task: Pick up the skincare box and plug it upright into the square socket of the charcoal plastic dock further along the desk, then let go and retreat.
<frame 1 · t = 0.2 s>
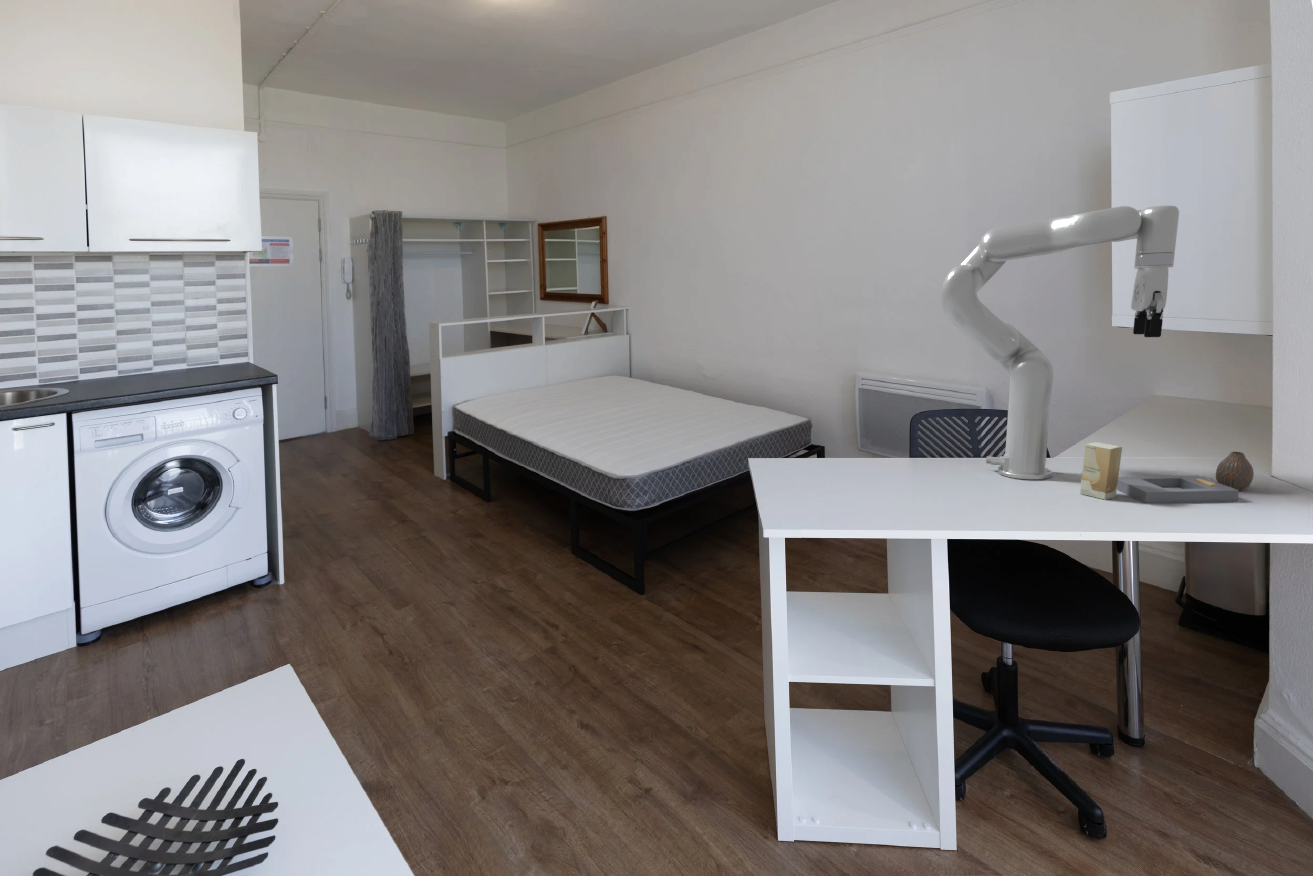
hand: (1146, 335, 169), 36 cm above the table, tool pointing down, fingers open, 9 cm apart
vase: (1232, 489, 168), on the table
skincare box: (1098, 496, 167), on the table
socket dock: (1172, 493, 166), on the table
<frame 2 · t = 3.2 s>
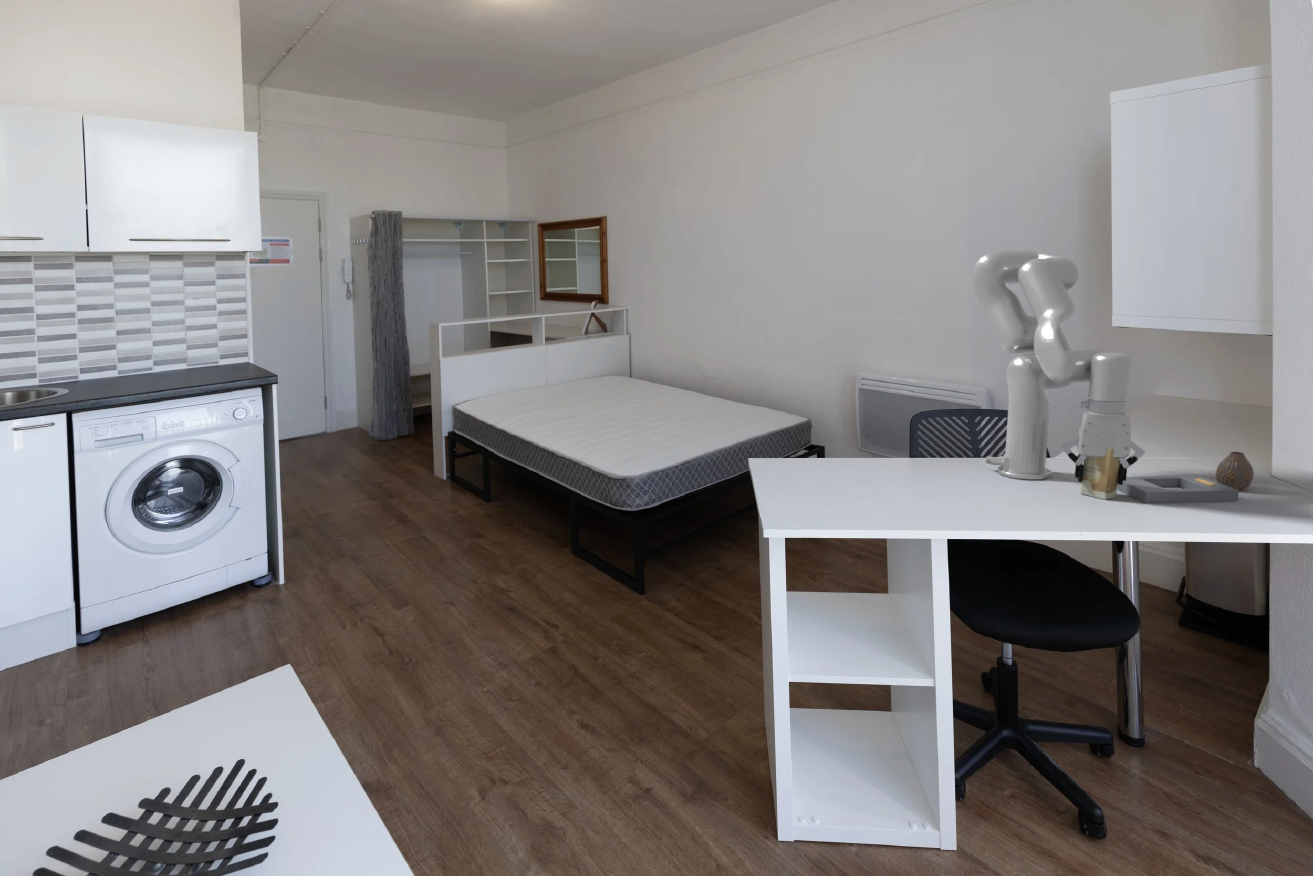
hand: (1099, 481, 166), 3 cm above the table, tool pointing down, fingers closed on skincare box, 7 cm apart
skincare box: (1098, 496, 167), on the table, touching gripper
everything else where it was.
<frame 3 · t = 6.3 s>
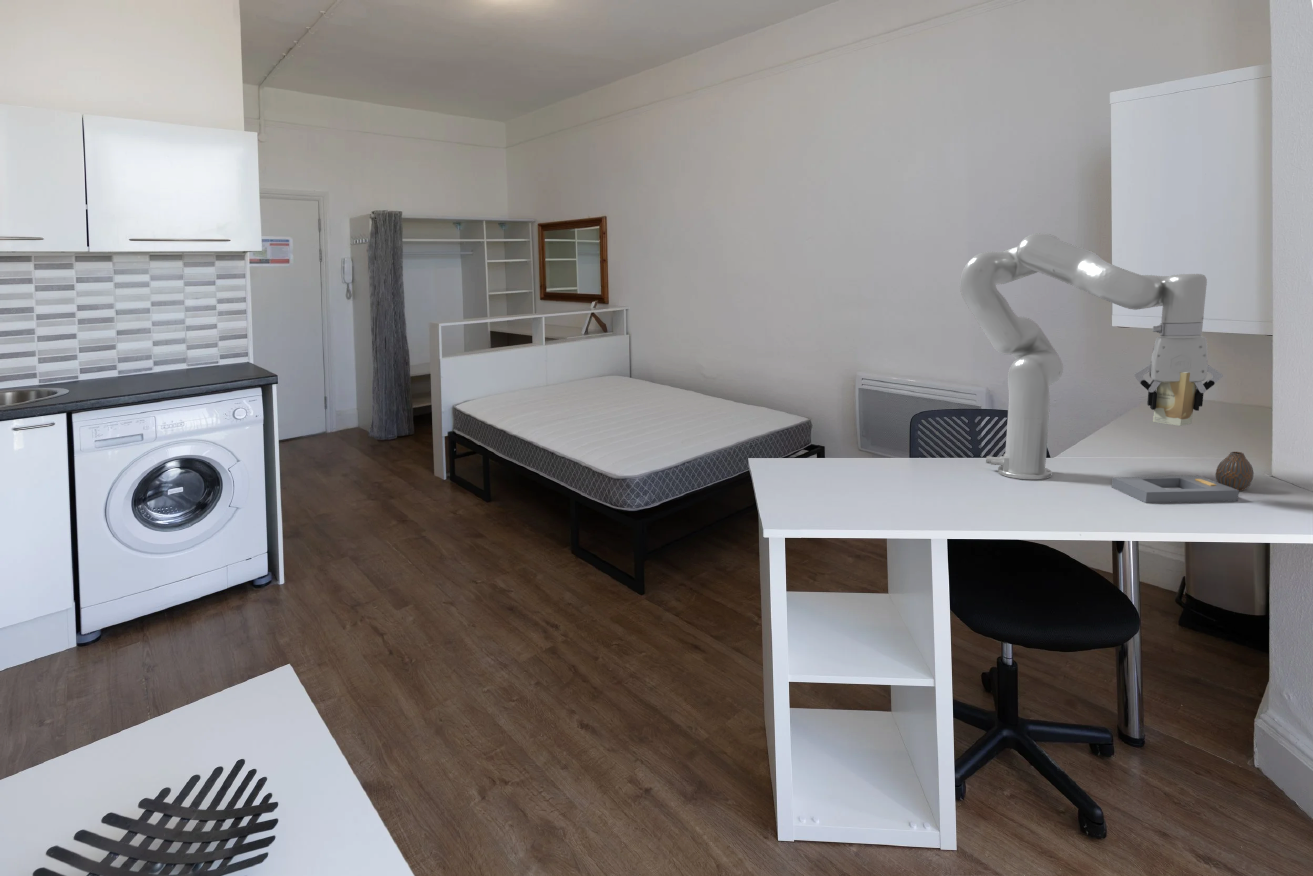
hand: (1173, 408, 162), 20 cm above the table, tool pointing down, fingers closed on skincare box, 7 cm apart
skincare box: (1172, 424, 162), point 17 cm above the table, touching gripper
everything else where it was.
when the fingers open (4 cm above the table, at t = 8.9 s): skincare box stays where it is, resting on socket dock.
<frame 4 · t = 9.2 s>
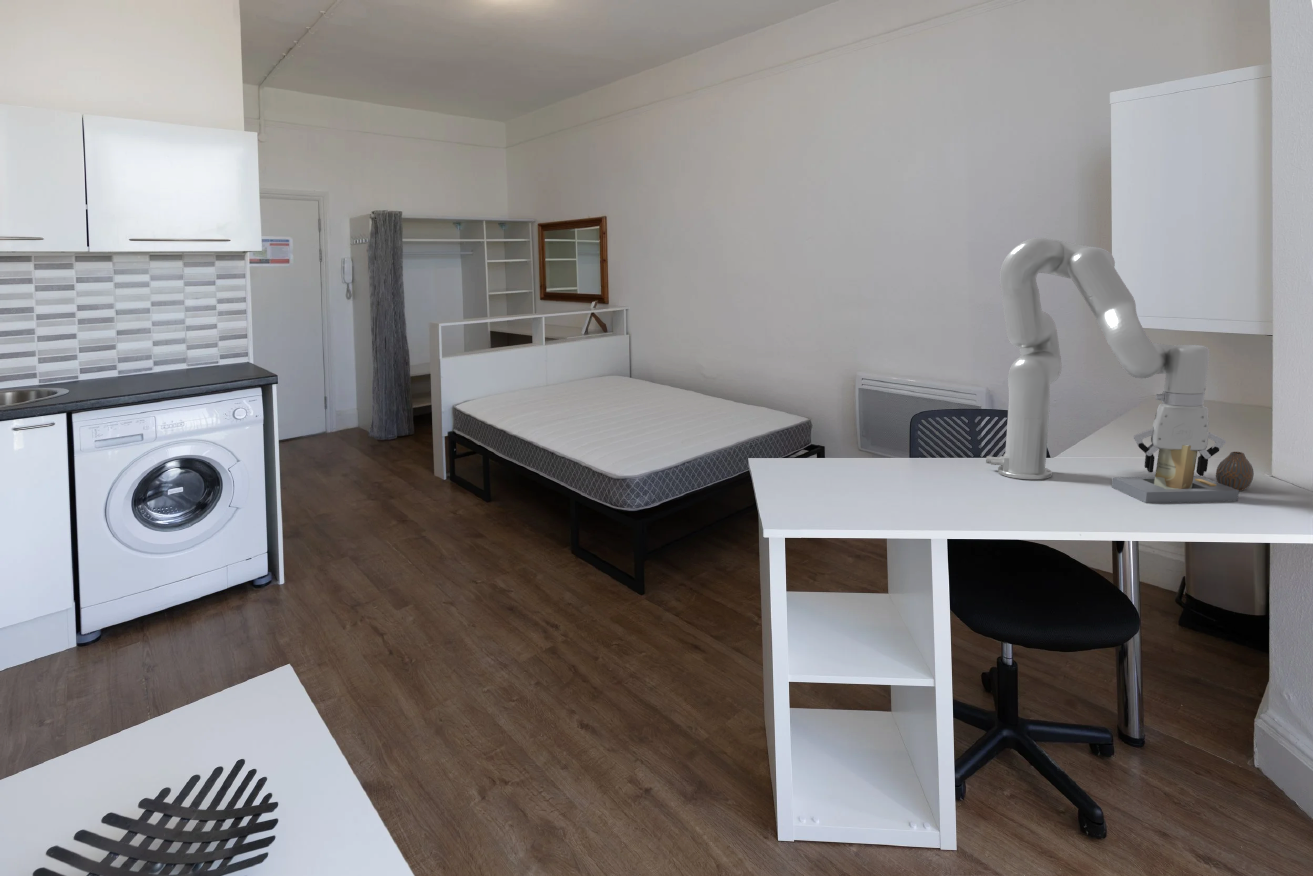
hand: (1174, 472, 165), 5 cm above the table, tool pointing down, fingers open, 9 cm apart
skincare box: (1172, 493, 166), resting on socket dock
everything else where it was.
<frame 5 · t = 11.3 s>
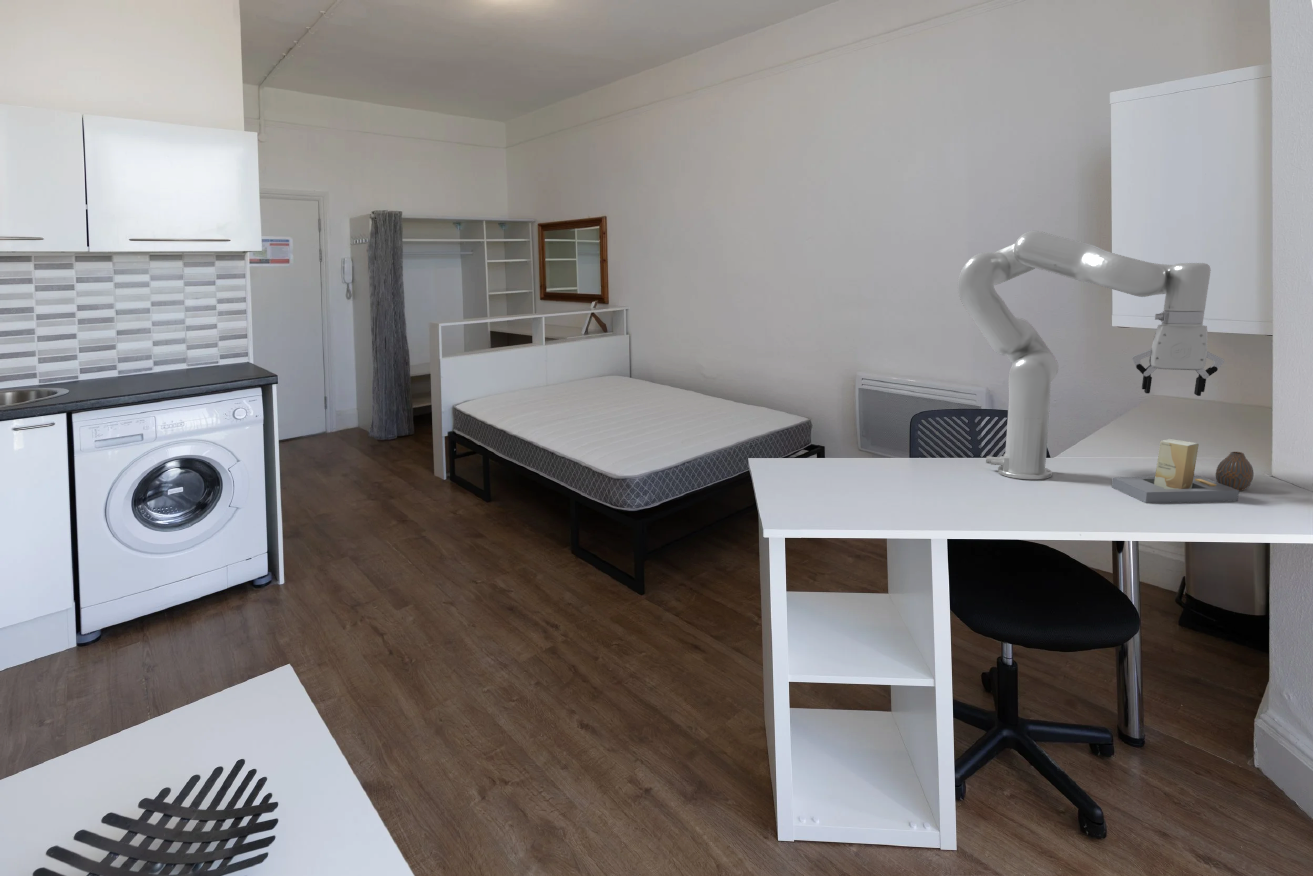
hand: (1171, 393, 164), 23 cm above the table, tool pointing down, fingers open, 9 cm apart
nothing on the table moved.
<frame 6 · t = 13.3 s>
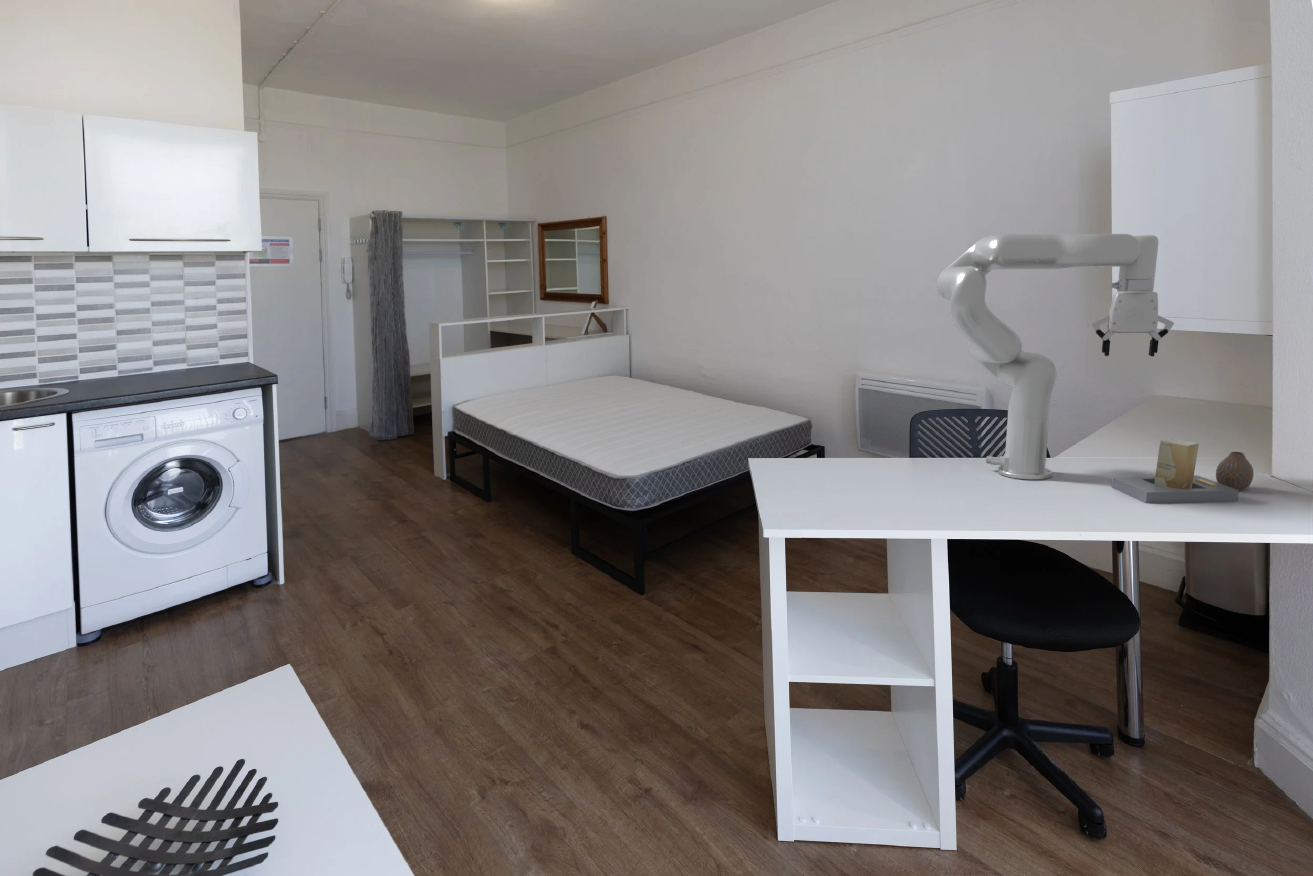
hand: (1128, 355, 180), 30 cm above the table, tool pointing down, fingers open, 9 cm apart
nothing on the table moved.
at the end: skincare box 0.1 cm off-centre on the socket dock, point 0.1 cm above the socket dock's base; skincare box tilted 0°; the gripper is holding nothing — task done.
